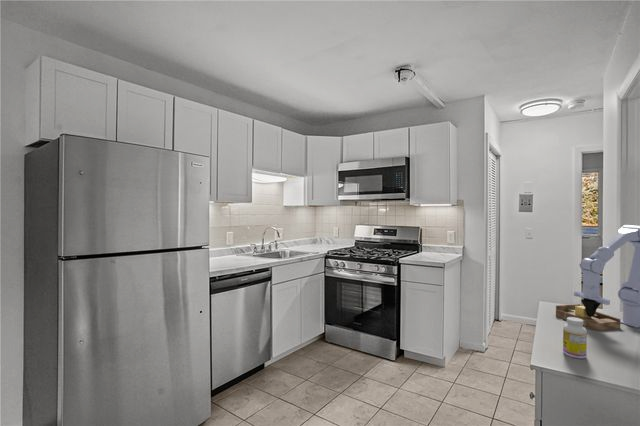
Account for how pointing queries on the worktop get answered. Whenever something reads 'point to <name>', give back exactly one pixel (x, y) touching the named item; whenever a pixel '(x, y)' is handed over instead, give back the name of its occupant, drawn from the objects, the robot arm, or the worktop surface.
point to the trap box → (589, 318)
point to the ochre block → (581, 311)
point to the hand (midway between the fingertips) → (590, 316)
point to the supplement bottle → (575, 338)
